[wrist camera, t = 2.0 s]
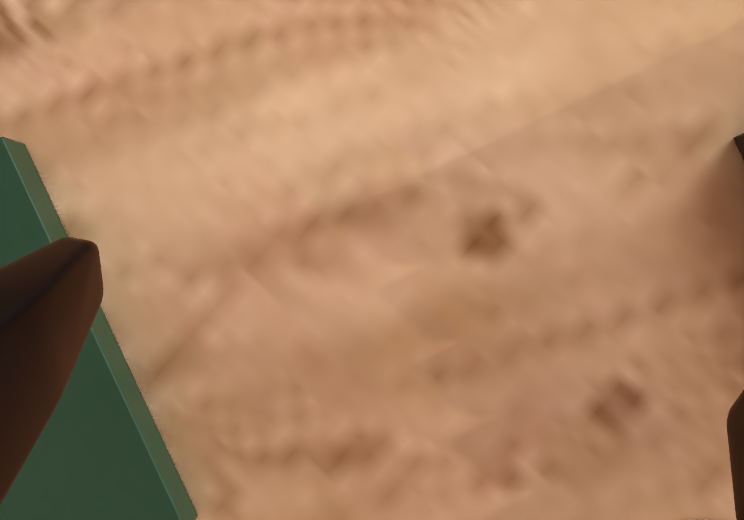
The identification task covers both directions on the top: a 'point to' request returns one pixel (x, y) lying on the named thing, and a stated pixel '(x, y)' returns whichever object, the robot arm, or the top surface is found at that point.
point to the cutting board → (84, 400)
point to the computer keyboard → (740, 143)
